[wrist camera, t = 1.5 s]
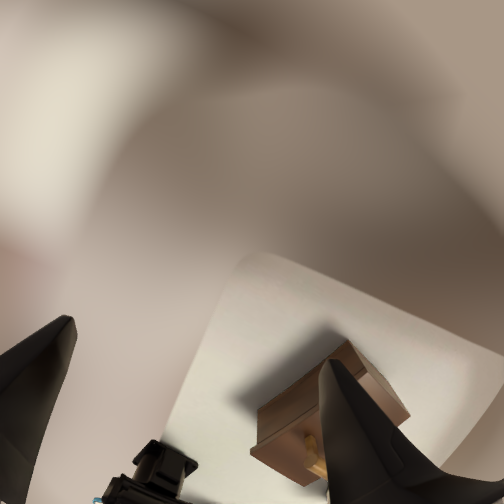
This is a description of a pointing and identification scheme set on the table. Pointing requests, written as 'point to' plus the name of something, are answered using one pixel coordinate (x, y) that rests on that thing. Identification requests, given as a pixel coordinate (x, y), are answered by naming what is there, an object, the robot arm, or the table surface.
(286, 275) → the table surface
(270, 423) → the trinket box
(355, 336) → the table surface
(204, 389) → the table surface
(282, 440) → the lid
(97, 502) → the smartphone
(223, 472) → the table surface
